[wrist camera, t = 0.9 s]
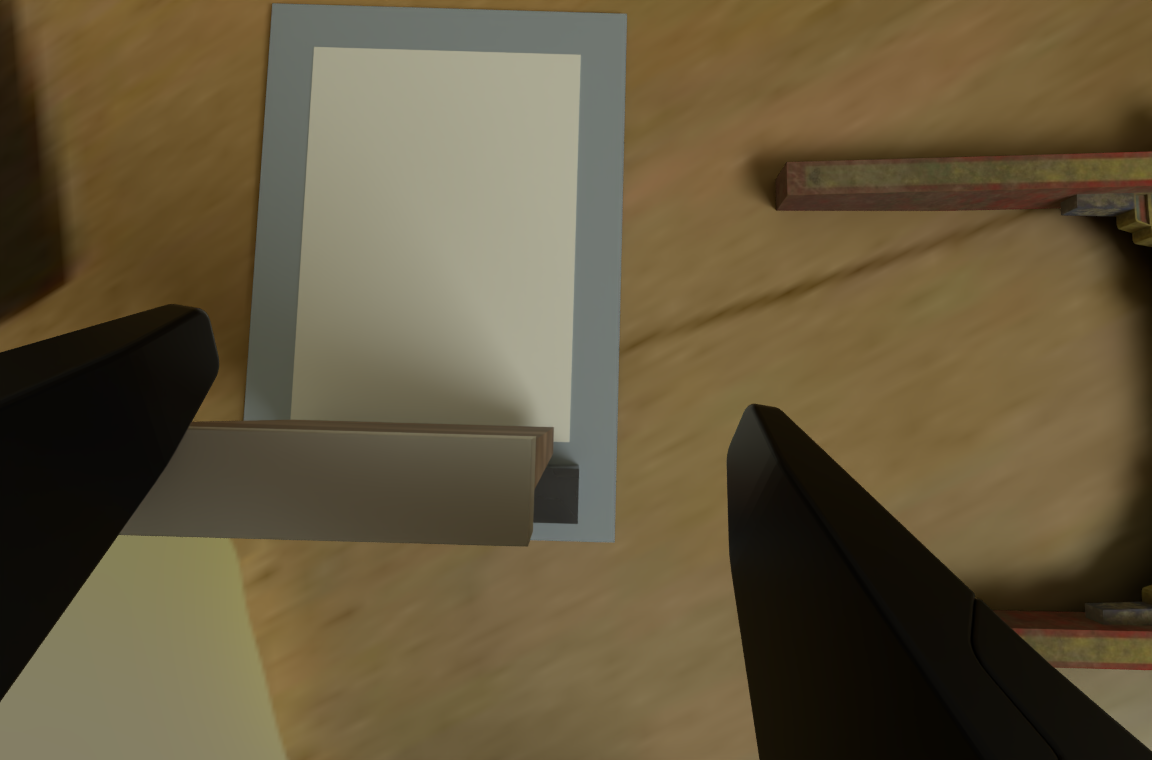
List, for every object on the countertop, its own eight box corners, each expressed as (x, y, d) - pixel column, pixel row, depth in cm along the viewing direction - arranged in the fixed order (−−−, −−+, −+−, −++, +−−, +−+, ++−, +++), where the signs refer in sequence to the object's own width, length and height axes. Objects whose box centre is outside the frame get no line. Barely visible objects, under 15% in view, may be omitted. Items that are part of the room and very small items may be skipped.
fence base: (577, 515, 24) (577, 523, 22) (275, 507, 24) (248, 514, 22) (578, 465, 24) (579, 468, 22) (278, 456, 24) (252, 459, 22)
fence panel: (558, 458, 23) (527, 546, 8) (283, 451, 23) (-267, 523, 8) (559, 422, 23) (531, 439, 8) (285, 414, 23) (-257, 417, 8)
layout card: (613, 540, 24) (614, 542, 24) (240, 530, 24) (235, 531, 24) (626, 18, 26) (627, 12, 25) (276, 8, 26) (271, 2, 25)
